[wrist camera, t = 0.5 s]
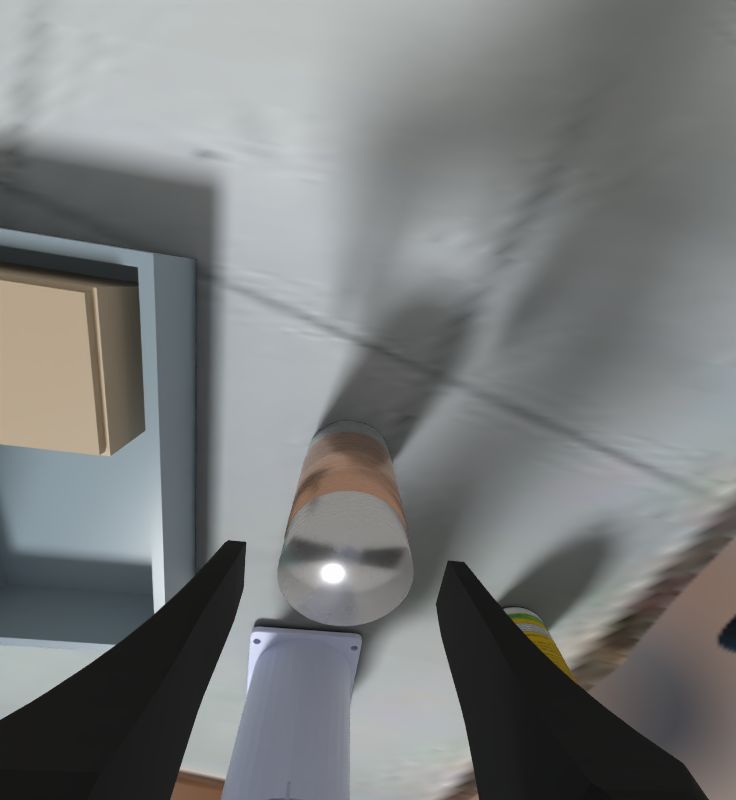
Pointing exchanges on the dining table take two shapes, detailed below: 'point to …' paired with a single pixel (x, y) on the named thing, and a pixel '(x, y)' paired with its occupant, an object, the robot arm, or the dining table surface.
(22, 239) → the tote
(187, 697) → the robot arm
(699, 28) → the dining table surface
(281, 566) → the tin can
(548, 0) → the dining table surface
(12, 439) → the plain tan box
